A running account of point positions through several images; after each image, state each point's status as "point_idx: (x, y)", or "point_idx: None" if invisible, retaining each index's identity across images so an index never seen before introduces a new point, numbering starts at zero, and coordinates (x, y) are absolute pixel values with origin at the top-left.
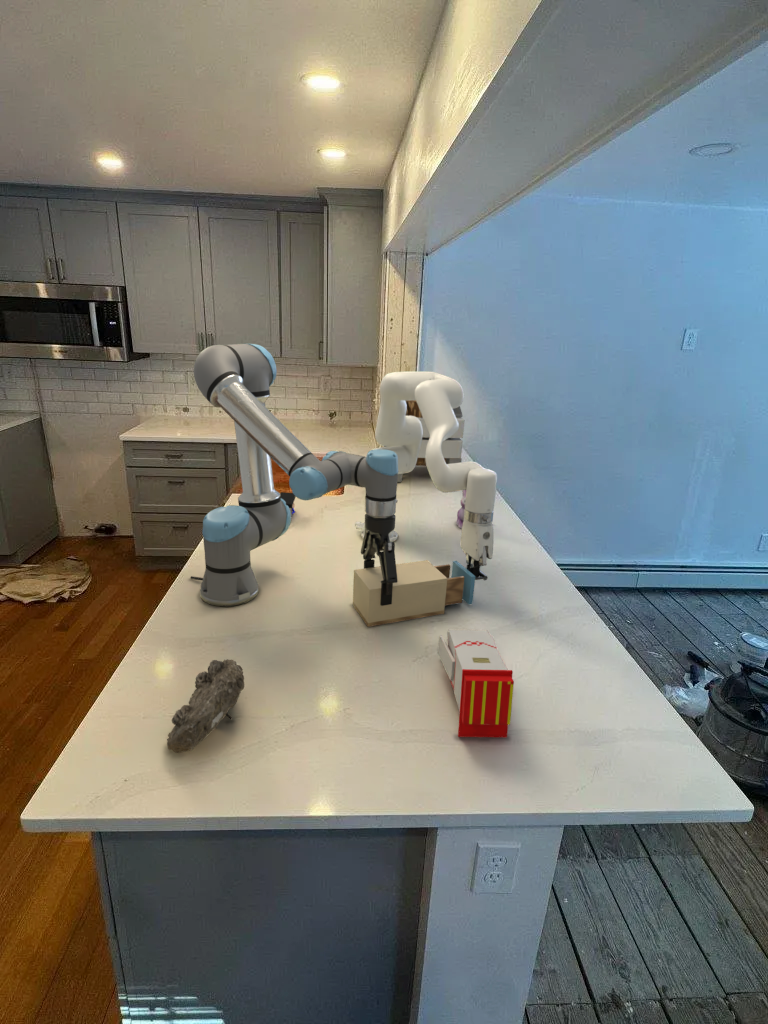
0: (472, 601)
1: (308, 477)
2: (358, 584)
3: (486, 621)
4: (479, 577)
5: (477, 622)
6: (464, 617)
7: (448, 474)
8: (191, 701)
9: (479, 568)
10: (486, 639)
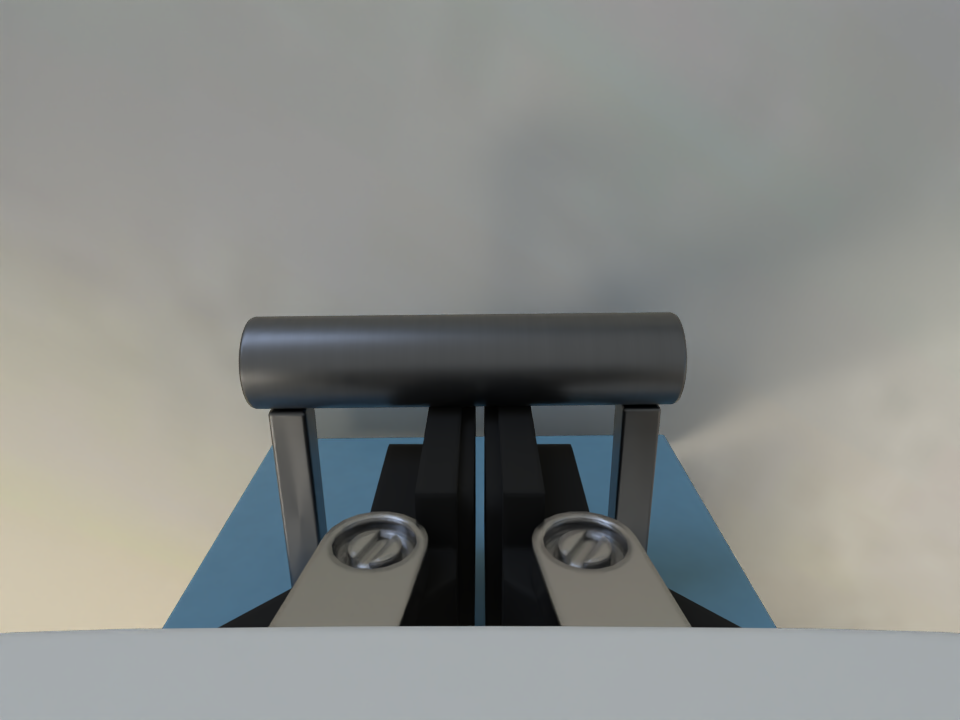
0: (673, 452)
1: None
2: None
3: (918, 417)
4: (649, 466)
5: (889, 493)
6: (770, 550)
7: None
8: None
9: (537, 464)
10: None
